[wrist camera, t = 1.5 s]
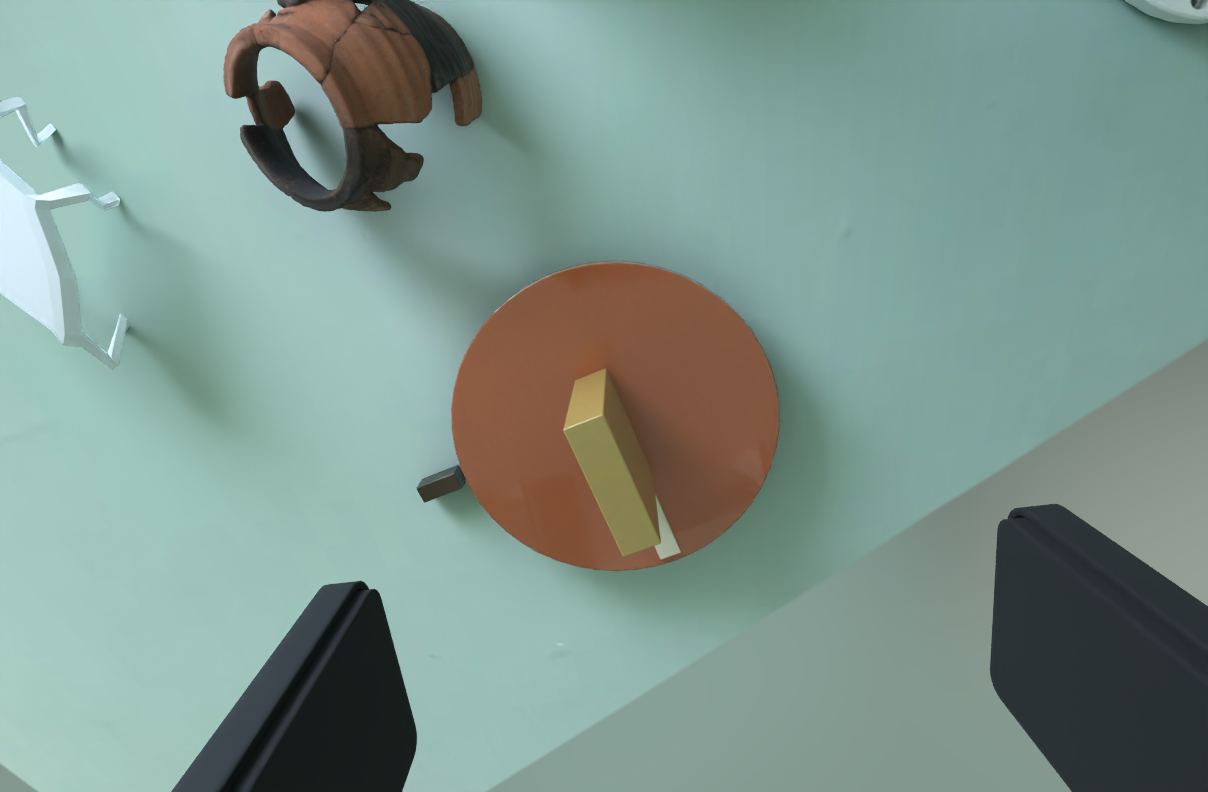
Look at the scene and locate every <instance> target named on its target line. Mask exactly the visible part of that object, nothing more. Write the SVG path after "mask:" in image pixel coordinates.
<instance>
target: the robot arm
mask: <svg viewBox="0 0 1208 792" xmlns="http://www.w3.org/2000/svg"><path fill="white" fill-rule="evenodd" d="M1125 1H1126V2H1127V3H1129V4H1131V5H1132V6H1134V7H1136V8H1137V9H1139V10H1140V11H1142V12H1144V13H1145V14H1147V15H1150V16H1153V17H1156V18H1159V19H1162V20H1166V21H1169V22H1173V23H1186V24H1205V23H1208V0H1125ZM990 674H991V679H992V683H993V686H994V688H995V690H996V692H997V694H998V696H999V697H1000V699H1001V700H1002V702H1003V703H1004V704H1005V705H1006V707H1007V708H1008V709H1009V711H1010V712H1011V713H1012V715H1013V716H1014V717H1015V718H1016V720H1017V721H1018V722H1019V724H1020V725H1021V726H1022V727H1023V729H1024V730H1025V731H1026V733H1027V734H1028V735H1029V736H1030V738H1031V739H1032V740H1033V742H1034V743H1035V744H1036V746H1037V747H1038V748H1039V750H1040V751H1041V752H1042V753H1043V754H1044V756H1045V757H1046V758H1047V760H1048V761H1049V763H1050V764H1051V765H1052V766H1053V768H1054V769H1055V770H1056V772H1057V773H1058V774H1059V775H1060V777H1061V778H1062V779H1063V781H1064V782H1065V783H1066V784H1067V786H1068V787H1069V788H1070V790H1071V791H1072V792H1208V606H1206V605H1205V604H1203V603H1202V602H1201V601H1199V600H1198V599H1196V598H1195V597H1193V596H1192V595H1190V594H1189V593H1188V592H1186V591H1185V590H1183V589H1182V588H1180V587H1179V586H1178V585H1176V584H1175V583H1173V582H1172V581H1170V580H1169V579H1167V578H1166V577H1164V576H1163V575H1162V574H1160V573H1159V572H1157V571H1155V570H1154V569H1153V568H1151V567H1150V566H1149V565H1147V564H1145V563H1144V562H1143V561H1141V560H1140V559H1138V558H1137V557H1136V556H1134V555H1133V554H1131V553H1130V552H1128V551H1127V550H1125V549H1124V548H1122V547H1121V546H1120V545H1118V544H1117V543H1115V542H1114V541H1112V540H1111V539H1109V538H1108V537H1107V536H1105V535H1104V534H1102V533H1101V532H1099V531H1098V530H1096V529H1095V528H1093V527H1092V526H1090V525H1089V524H1088V523H1086V522H1085V521H1083V520H1082V519H1080V518H1079V517H1078V516H1076V515H1075V514H1073V513H1072V512H1070V511H1069V510H1067V509H1066V508H1065V507H1062V506H1061V505H1058V504H1049V505H1040V506H1031V507H1022V508H1015V509H1014V510H1012V511H1011V512H1010V514H1009V516H1008V519H1005V520H1002V521H1001V522H1000V524H999V525H998V533H997V550H996V570H995V588H994V607H993V625H992V644H991V664H990ZM416 745H417V732H416V726H415V722H414V719H413V715H412V711H411V707H410V704H409V700H408V696H407V693H406V689H405V685H404V681H403V678H402V674H401V670H400V667H399V663H398V659H397V655H396V652H395V648H394V644H393V641H392V637H391V633H390V629H389V626H388V622H387V618H386V614H385V611H384V607H383V603H382V600H381V597H380V594H379V592H378V591H377V590H375V589H370V590H369V588H368V586H367V585H366V584H365V583H364V582H362V581H356V582H347V583H338V584H329V585H324V586H323V587H322V588H321V589H320V590H319V591H318V592H317V594H316V595H315V596H314V598H313V599H312V600H311V602H310V603H309V605H308V606H307V607H306V609H305V610H304V611H303V613H302V614H301V616H300V617H299V618H298V620H297V621H296V622H295V624H294V625H293V626H292V628H291V629H290V631H289V632H288V633H287V635H286V636H285V637H284V639H283V640H282V641H281V643H280V644H279V646H278V647H277V648H276V650H275V651H274V652H273V654H272V655H271V656H270V658H269V659H268V661H267V662H266V663H265V665H264V666H263V667H262V669H261V670H260V671H259V673H258V674H257V676H256V677H255V678H254V680H253V681H252V682H251V684H250V685H249V686H248V688H247V689H246V691H245V692H244V693H243V695H242V696H241V697H240V699H239V700H238V702H237V703H236V704H235V706H234V707H233V708H232V710H231V711H230V712H229V714H228V715H227V717H226V718H225V719H224V721H223V722H222V723H221V725H220V726H219V727H218V729H217V730H216V732H215V733H214V734H213V736H212V737H211V738H210V740H209V741H208V742H207V744H206V745H205V747H204V748H203V749H202V751H201V752H200V753H199V755H198V756H197V757H196V759H195V760H194V762H193V763H192V764H191V766H190V767H189V768H188V770H187V771H186V772H185V774H184V775H183V777H182V778H181V779H180V781H179V782H178V783H177V785H176V786H175V787H174V789H173V790H172V792H402V790H403V787H404V784H405V781H406V779H407V776H408V773H409V770H410V767H411V764H412V761H413V758H414V755H415V751H416Z"/></svg>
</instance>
